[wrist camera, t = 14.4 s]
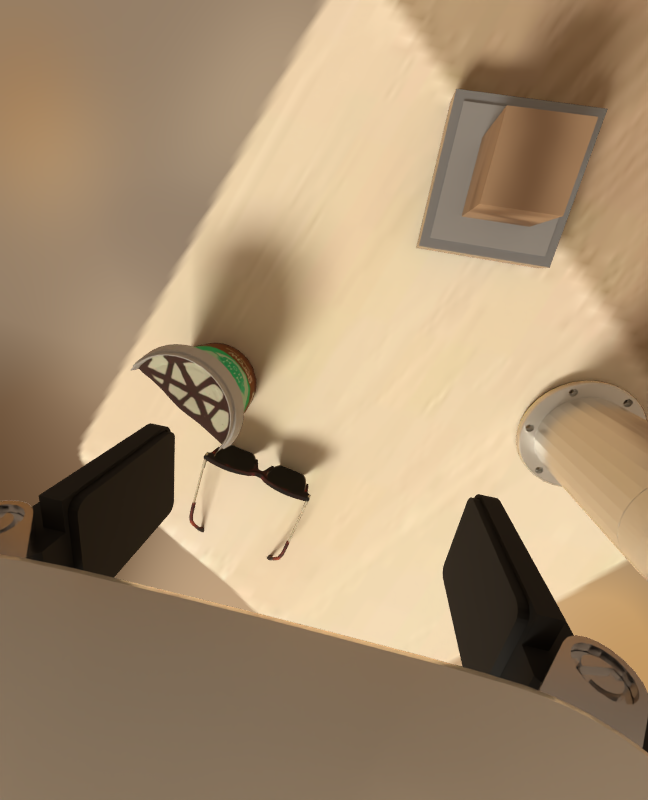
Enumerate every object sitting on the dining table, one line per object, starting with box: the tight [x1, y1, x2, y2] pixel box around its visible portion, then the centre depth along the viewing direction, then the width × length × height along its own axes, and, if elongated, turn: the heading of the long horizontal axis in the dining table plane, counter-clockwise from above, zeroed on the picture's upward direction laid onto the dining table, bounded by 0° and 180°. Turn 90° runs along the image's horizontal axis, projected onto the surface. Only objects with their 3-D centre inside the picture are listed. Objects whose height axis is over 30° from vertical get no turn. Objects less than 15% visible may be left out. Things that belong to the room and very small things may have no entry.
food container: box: [131, 343, 256, 450], centre depth 38 cm, size 12×6×10 cm, turn 46°
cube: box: [462, 105, 598, 227], centre depth 28 cm, size 6×6×6 cm
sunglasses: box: [190, 445, 310, 560], centre depth 47 cm, size 14×16×5 cm
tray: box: [416, 89, 607, 268], centre depth 32 cm, size 12×12×3 cm
